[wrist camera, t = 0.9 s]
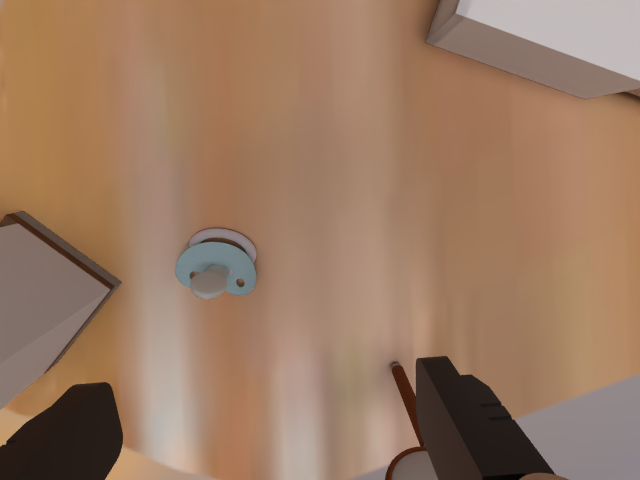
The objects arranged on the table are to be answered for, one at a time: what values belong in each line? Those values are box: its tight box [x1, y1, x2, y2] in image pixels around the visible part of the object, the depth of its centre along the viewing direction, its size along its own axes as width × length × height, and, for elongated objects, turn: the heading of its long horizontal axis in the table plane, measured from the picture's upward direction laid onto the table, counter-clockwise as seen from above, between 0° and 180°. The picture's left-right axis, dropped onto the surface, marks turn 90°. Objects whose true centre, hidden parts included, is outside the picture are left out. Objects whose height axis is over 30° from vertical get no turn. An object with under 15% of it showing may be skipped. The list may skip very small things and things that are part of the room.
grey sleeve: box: [425, 0, 640, 99], centre depth 28 cm, size 6×16×7 cm, turn 73°
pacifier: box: [175, 228, 257, 300], centre depth 32 cm, size 7×6×6 cm
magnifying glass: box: [385, 363, 438, 480], centre depth 28 cm, size 9×2×20 cm, turn 80°
